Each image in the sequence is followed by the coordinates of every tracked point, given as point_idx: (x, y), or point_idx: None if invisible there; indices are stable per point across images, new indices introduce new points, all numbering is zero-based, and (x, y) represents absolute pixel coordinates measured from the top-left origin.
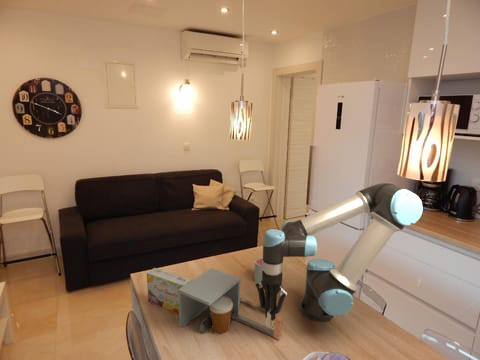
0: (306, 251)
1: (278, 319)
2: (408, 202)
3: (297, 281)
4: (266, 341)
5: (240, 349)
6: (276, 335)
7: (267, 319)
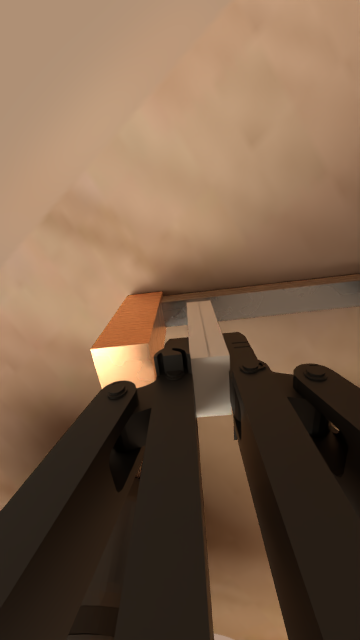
0: None
1: (116, 359)
2: None
3: (269, 589)
4: (174, 244)
5: (263, 57)
6: (141, 298)
7: (211, 322)
